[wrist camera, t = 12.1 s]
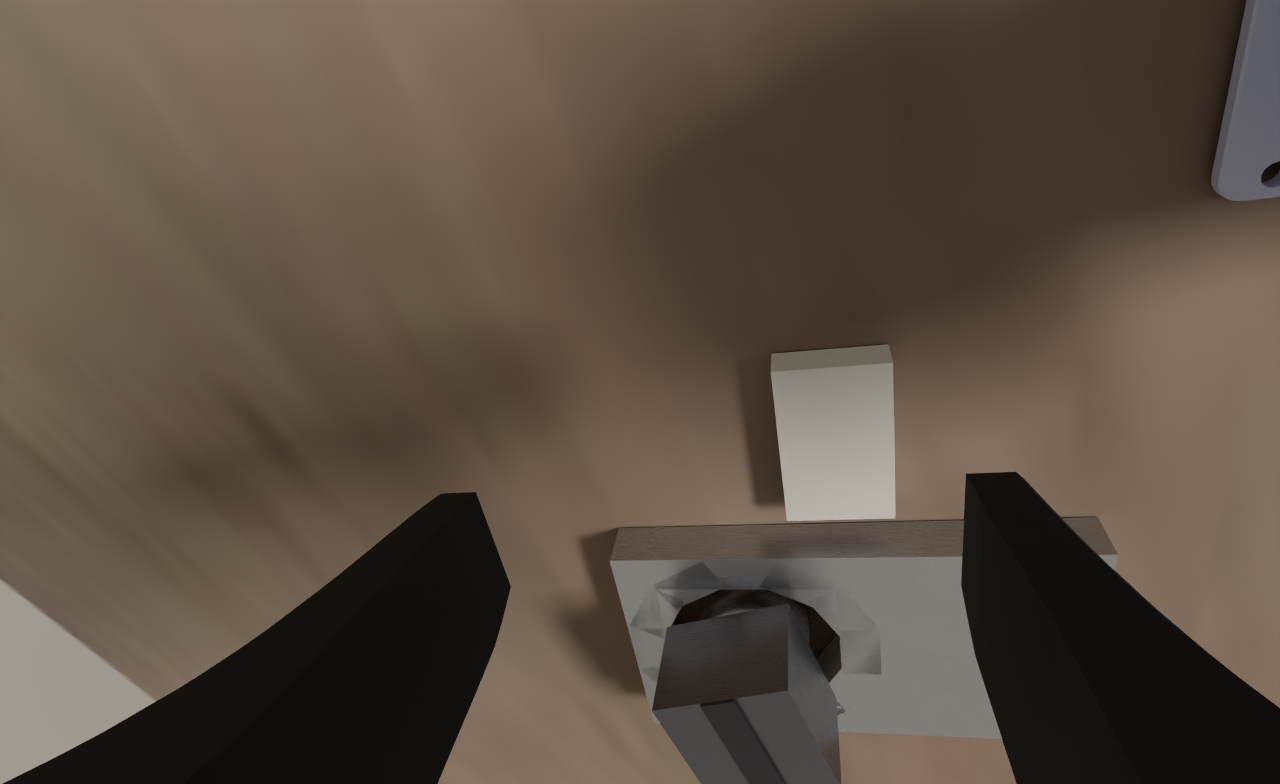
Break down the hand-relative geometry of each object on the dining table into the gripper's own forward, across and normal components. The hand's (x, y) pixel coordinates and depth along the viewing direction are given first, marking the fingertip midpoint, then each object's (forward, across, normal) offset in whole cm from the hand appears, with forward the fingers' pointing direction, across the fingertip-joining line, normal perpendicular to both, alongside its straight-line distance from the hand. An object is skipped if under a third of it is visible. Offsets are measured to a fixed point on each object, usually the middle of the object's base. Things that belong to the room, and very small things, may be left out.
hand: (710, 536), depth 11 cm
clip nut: (+9, +1, +12) cm, 15 cm away
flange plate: (+9, -2, +12) cm, 15 cm away
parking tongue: (+9, -2, +4) cm, 11 cm away
